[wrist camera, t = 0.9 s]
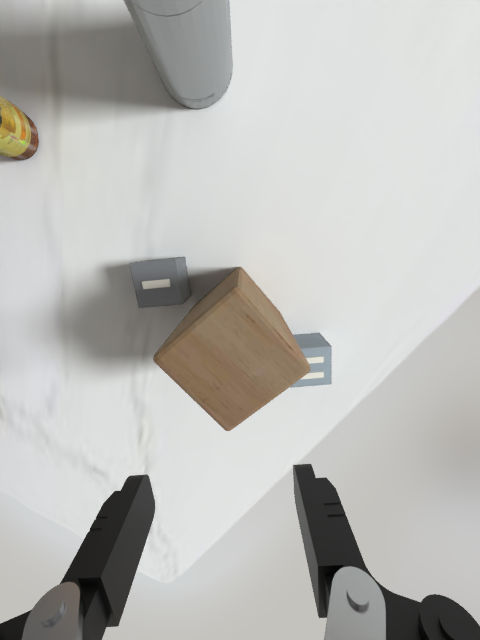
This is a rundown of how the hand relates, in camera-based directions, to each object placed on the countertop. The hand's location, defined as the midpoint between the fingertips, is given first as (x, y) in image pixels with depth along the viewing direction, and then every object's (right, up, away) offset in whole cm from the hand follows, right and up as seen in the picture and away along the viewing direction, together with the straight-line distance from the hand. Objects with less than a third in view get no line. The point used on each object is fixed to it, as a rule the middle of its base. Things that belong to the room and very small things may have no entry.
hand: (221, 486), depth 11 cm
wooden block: (0, +9, +31) cm, 32 cm away
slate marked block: (+11, +2, +32) cm, 34 cm away
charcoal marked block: (-10, +13, +29) cm, 34 cm away
